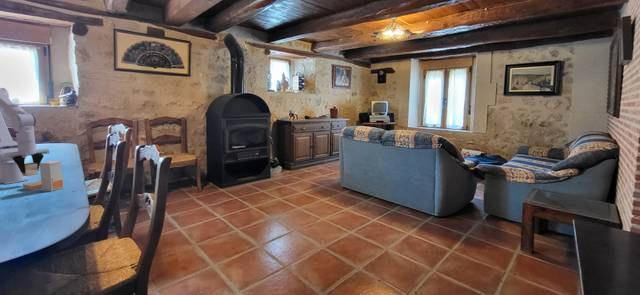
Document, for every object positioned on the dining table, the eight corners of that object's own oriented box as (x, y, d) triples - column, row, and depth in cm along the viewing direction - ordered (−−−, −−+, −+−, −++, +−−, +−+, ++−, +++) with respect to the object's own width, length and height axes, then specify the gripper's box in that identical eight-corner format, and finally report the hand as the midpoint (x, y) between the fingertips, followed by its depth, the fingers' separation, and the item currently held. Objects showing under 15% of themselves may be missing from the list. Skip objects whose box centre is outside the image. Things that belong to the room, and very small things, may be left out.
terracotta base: (23, 188, 128) (22, 184, 128) (43, 184, 134) (43, 180, 134) (31, 191, 125) (31, 186, 125) (52, 186, 131) (51, 182, 131)
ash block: (22, 175, 132) (20, 164, 132) (33, 173, 136) (32, 162, 135) (26, 176, 131) (25, 165, 130) (38, 174, 134) (37, 163, 134)
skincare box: (51, 191, 125) (48, 163, 123) (41, 191, 125) (38, 163, 124) (64, 187, 131) (61, 160, 130) (55, 187, 131) (52, 160, 130)
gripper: (8, 144, 123) (12, 176, 125) (51, 140, 136) (54, 169, 138) (0, 142, 126) (4, 174, 128) (43, 139, 139) (46, 167, 141)
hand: (29, 171), depth 133 cm, fingers closed on ash block, 4 cm apart
